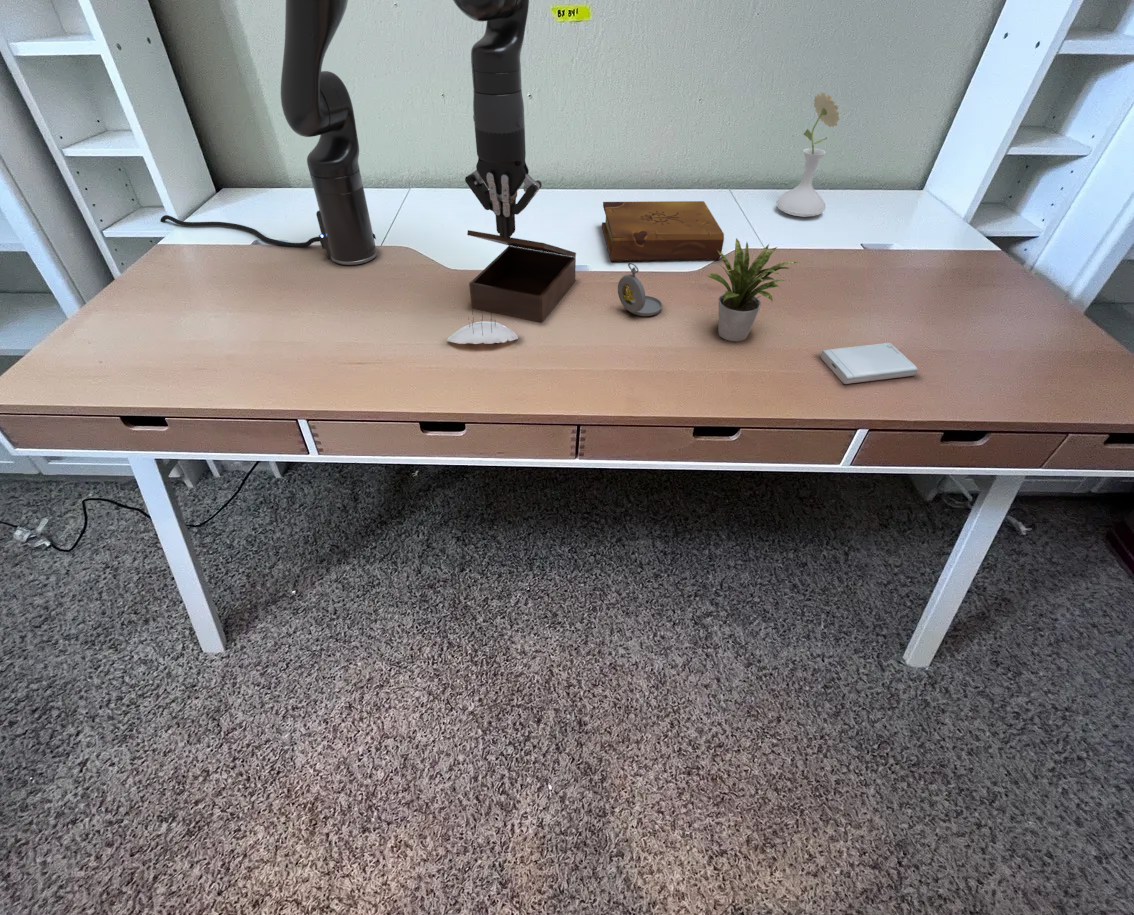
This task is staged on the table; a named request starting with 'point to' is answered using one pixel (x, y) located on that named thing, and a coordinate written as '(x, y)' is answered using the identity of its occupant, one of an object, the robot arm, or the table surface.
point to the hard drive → (868, 363)
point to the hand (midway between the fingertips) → (506, 235)
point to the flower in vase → (810, 167)
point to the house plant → (743, 292)
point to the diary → (661, 231)
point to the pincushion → (482, 333)
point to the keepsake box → (523, 283)
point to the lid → (522, 243)
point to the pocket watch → (637, 296)
